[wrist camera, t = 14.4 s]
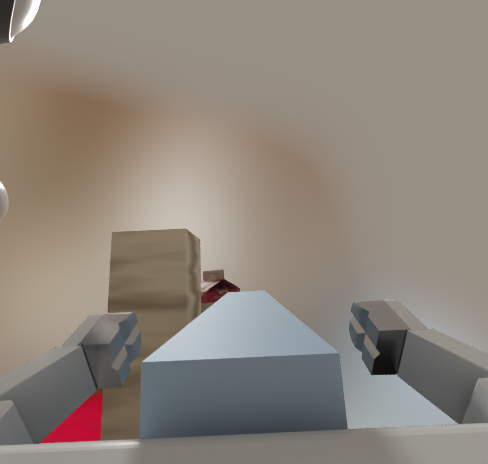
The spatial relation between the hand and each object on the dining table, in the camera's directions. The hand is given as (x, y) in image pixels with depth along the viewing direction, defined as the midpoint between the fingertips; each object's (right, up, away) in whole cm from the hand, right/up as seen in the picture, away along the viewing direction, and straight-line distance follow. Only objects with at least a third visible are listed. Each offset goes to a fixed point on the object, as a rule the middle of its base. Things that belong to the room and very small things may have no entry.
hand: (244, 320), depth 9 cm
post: (-9, -23, +16) cm, 29 cm away
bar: (0, -5, +6) cm, 8 cm away
